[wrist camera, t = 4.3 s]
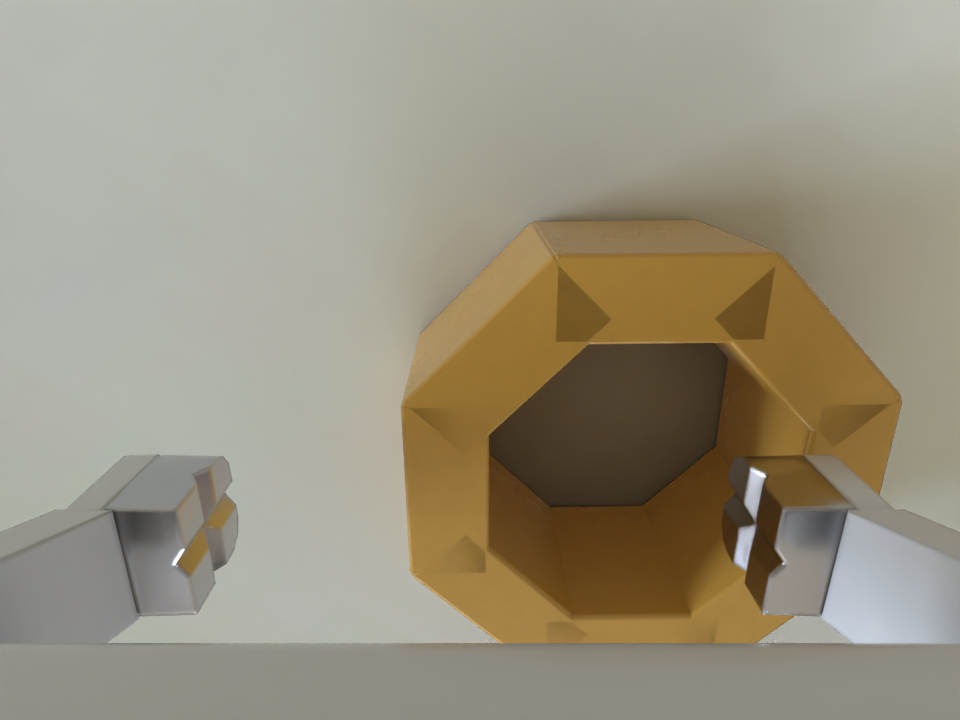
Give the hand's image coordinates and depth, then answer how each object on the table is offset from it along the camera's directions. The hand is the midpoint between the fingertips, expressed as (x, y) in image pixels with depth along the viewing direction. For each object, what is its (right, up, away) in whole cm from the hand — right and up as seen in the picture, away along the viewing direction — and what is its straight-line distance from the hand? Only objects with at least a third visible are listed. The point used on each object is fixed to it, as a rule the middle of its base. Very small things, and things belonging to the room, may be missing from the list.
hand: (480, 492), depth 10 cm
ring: (+3, +1, +4) cm, 5 cm away
